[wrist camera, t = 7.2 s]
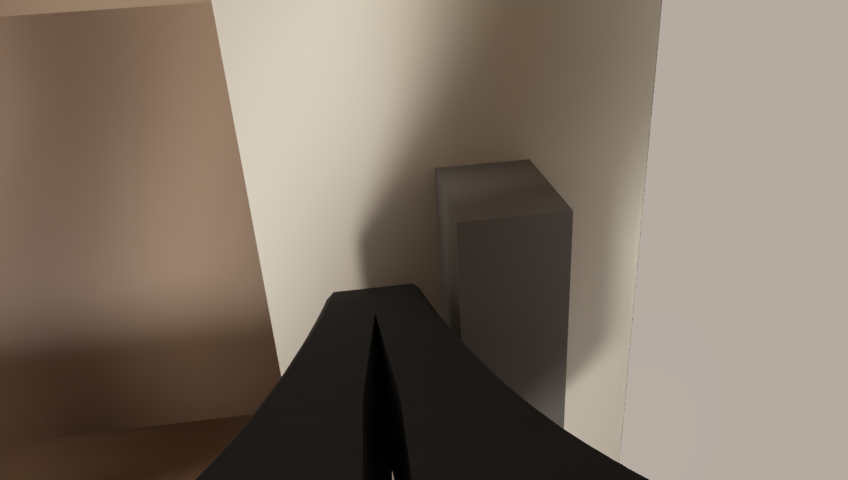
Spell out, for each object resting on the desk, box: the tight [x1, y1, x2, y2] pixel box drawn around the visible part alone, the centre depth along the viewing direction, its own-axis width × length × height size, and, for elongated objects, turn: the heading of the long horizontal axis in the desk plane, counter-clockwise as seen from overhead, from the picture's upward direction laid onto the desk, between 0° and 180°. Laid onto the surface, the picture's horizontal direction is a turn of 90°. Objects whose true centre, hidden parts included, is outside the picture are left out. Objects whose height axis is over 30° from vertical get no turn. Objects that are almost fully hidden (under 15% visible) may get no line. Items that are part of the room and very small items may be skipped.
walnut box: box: [0, 0, 281, 480], centre depth 12 cm, size 12×11×4 cm
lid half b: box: [211, 0, 662, 480], centre depth 10 cm, size 6×11×3 cm, turn 3°
